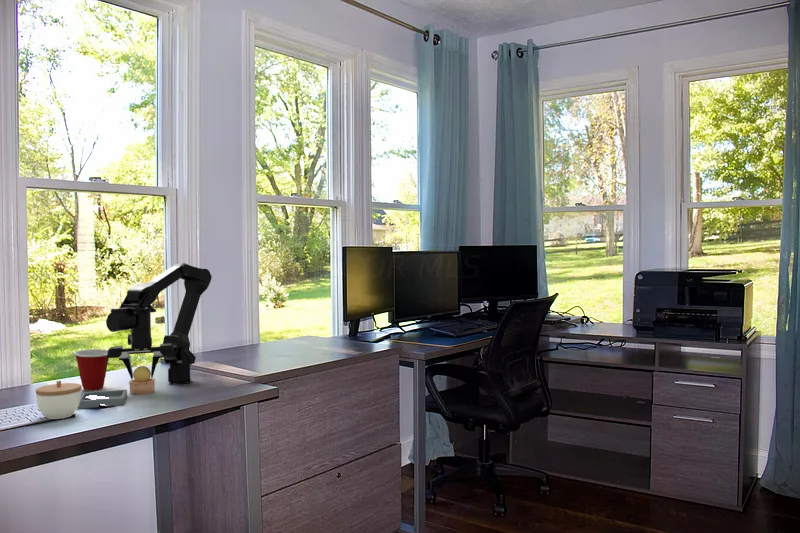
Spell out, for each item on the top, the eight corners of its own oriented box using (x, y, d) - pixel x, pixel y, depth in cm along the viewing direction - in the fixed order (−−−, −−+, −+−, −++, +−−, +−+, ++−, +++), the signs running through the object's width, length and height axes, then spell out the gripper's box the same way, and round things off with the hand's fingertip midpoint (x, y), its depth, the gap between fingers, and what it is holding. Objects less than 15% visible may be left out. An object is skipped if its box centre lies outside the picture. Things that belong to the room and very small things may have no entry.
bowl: (155, 388, 203) (155, 377, 202) (154, 393, 196) (154, 381, 196) (130, 390, 200) (130, 379, 200) (128, 395, 193) (128, 383, 193)
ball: (151, 380, 201) (150, 364, 201) (150, 383, 196) (150, 367, 196) (134, 381, 199) (133, 365, 199) (132, 384, 195) (132, 368, 195)
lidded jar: (50, 423, 163) (50, 387, 163) (28, 418, 168) (27, 382, 168) (90, 414, 172) (89, 379, 172) (67, 409, 178) (66, 375, 177)
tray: (127, 395, 193) (127, 389, 193) (123, 405, 182) (123, 398, 181) (83, 399, 189) (83, 392, 189) (76, 408, 178) (76, 401, 178)
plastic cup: (94, 393, 197) (93, 354, 197) (66, 391, 200) (65, 353, 200) (120, 386, 207) (119, 349, 207) (93, 384, 210) (92, 347, 210)
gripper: (173, 323, 208) (174, 371, 208) (110, 326, 202) (112, 375, 203) (172, 327, 197) (173, 378, 198) (106, 330, 192) (107, 382, 192)
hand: (142, 378), depth 198 cm, fingers open, 5 cm apart
